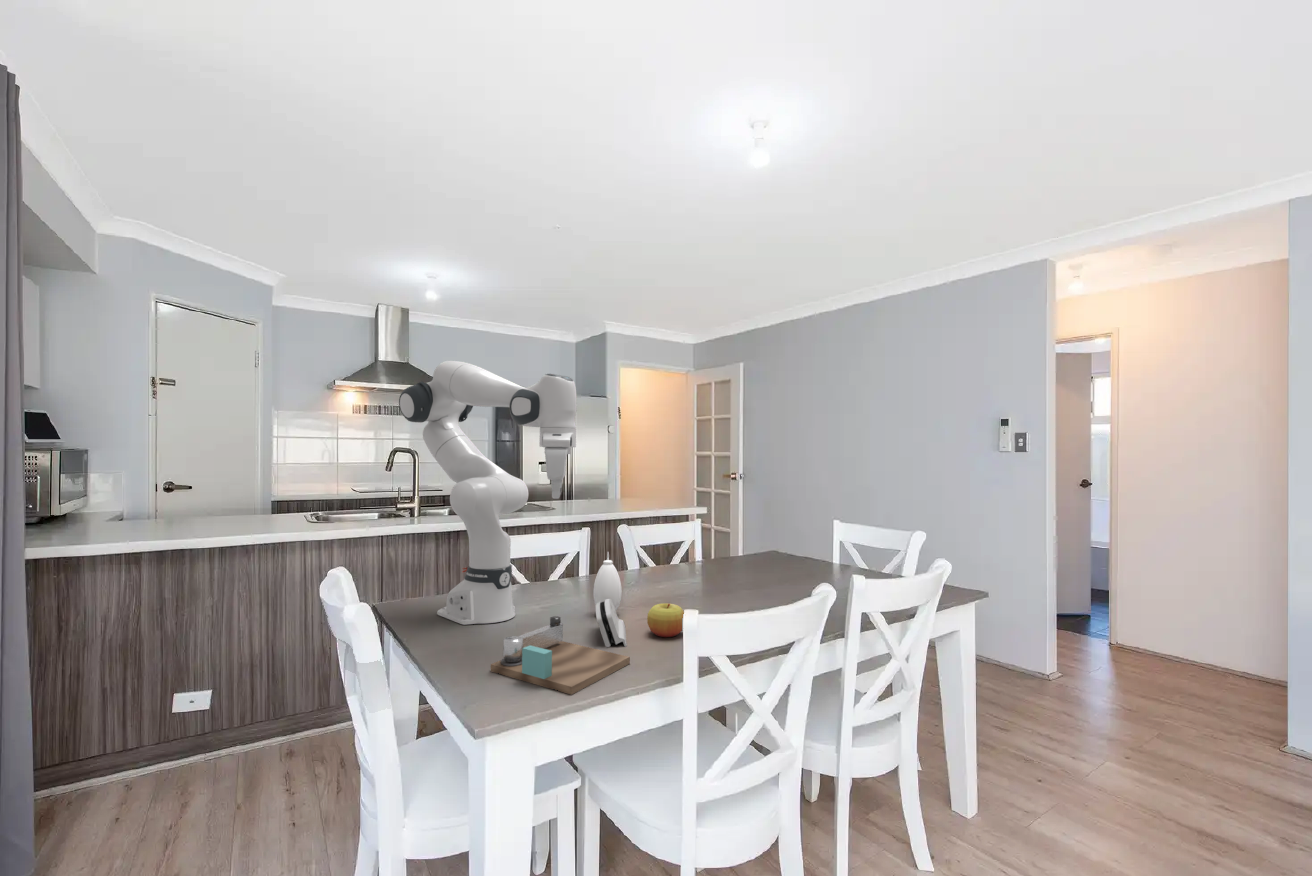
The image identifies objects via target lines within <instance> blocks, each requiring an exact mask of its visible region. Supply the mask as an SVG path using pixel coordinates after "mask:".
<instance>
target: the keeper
mask: <svg viewBox="0 0 1312 876" xmlns="http://www.w3.org/2000/svg"><path fill="white" fill-rule="evenodd" d="M522 673H524V674H527V675H531V676H535V677H538V678H542V679H546V678H548V677H550V676H552V651H551V650H547V649H543V648H539V647H535V646H527V647H524V648H522Z"/></svg>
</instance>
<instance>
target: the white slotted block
mask: <svg viewBox="0 0 1312 876" xmlns="http://www.w3.org/2000/svg"><path fill="white" fill-rule="evenodd" d="M595 616H596V621H597V625H598V627H599V631H600V633H601V637H602V639H603V643H604V646H605V648H610V647H612V646H611V645H612V644H615V645H618V644H620V643H623V647H625V648H626V647H627V646H628V645H627V634H626V633H627V632H626V625H625V622H624V620H623V619H620V618H619V617H618V615H617V610H616V611H615V608H614V606H613V603H612V600H611V599H606V600H605V601H604V602H601V601H600V602H599V603H597V604H596V605H595Z"/></svg>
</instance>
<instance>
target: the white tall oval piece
mask: <svg viewBox="0 0 1312 876" xmlns="http://www.w3.org/2000/svg"><path fill="white" fill-rule="evenodd" d="M613 563H614V562H613V560H612V559H610V554H609V551H607V555H606V560H603V562H602V565H601V566H600V568H599V569H598V570H597V574H596V577H595V579H594V584H593V592H592V593H593V594H592V595H593V601H594V605H595V606H596V604H597V603H599V602H600V601H601V602H604V601H605V600H606V599H611V600H612V603H613V606H614V608H615V611H616V612H617V610H618V609H619V607H620V604H621V601H622V593H623V592H622V582H621V578H620V575H619V573H618V570H617V568H616V567H615V565H614V564H613Z"/></svg>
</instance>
